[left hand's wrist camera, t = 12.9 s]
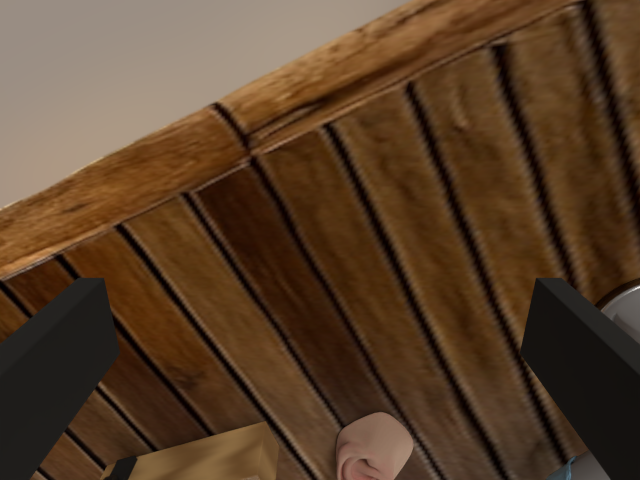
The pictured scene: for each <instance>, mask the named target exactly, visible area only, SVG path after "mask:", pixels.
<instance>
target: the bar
mask: <svg viewBox="0 0 640 480" xmlns="http://www.w3.org/2000/svg"><path fill="white" fill-rule="evenodd" d="M278 453H279V445H278V444H277V442H276V440H275V438H274V436H273V434H272V432H271V430H270V428H269V427H268V425H267V423H266V421H264V422H260V423H257V424H253V425H250V426H246V427H242V428H239V429H235V430H232V431H228V432H225V433H221V434H217V435H214V436H210V437H207V438H203V439H200V440H196V441H192V442H189V443H185V444H182V445H178V446H174V447H171V448H167V449H164V450H160V451H157V452H153V453H149V454H146V455H142V456H139V457H136V458H137V459H138V460H137V462H136V464H135V466H134V468H133V470H132V472H131V475H130V477H129V479H128V480H276V472H277V462H278ZM115 464H116V463H114V464H110V465H107V467H106V469H105V471H104V473H103V475H102V476H101V478H100V480H103V479H104V478H105V477H108V476H110V474H111V472H112V470H113V468H114V466H115Z"/></svg>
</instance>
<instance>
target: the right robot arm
mask: <svg viewBox="0 0 640 480" xmlns="http://www.w3.org/2000/svg"><path fill="white" fill-rule="evenodd" d="M137 460H138V459H137V458H136V456H131V457H128V458H124V459H121V460H117V462H116V464H115V466H114V468H113V470H112V472H111V474H110V476H108V477H105V478H104V479H103V480H128V479H129V477H130V475H131V472H132V470H133V468H134V466H135V464H136V462H137Z"/></svg>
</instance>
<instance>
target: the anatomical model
mask: <svg viewBox="0 0 640 480" xmlns="http://www.w3.org/2000/svg"><path fill="white" fill-rule="evenodd" d="M412 449H413V440H412V437H411V435H410V434H409V432H408V431H407V430H406V428H405V427H404V426H403V425H402V424H401V423H400V422H398V421H397V420H396V419H395V418H393V417H392V416H390V415H389V414H386V413H383V412H378V413H373V414H370V415H367V416H365V417H363V418H361V419H358V420H356V421H354V422H352V423H351V424H349V425H348V426H346V427H345V428H343V429H342V430H341V432H340V433H339V436H338V439H337V446H336V462H337V470H336V475H337V480H394V478H395V477H396V476H397V474H398V473H399V472H400V470H401V469H402V467H403V466H404V464H405V463H406V461H407V460H408V458H409V456H410V454H411V452H412Z"/></svg>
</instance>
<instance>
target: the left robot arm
mask: <svg viewBox="0 0 640 480" xmlns="http://www.w3.org/2000/svg"><path fill="white" fill-rule="evenodd" d="M119 354H120V351H119V346H118V341H117V337H116V332H115V327H114V323H113V318H112V314H111V309H110V304H109V300H108V295H107V290H106V286H105V281H104V278H78V279H77V280H76V281H74V282H73V283H72V284H71V285H70V286H69V287H67V288H66V289H65V290H64V291H63V292H61V293H60V294H59V295H58V296H57V297H56V298H54V299H53V300H52V301H51V302H50V303H48V304H47V305H46V306H45V307H44V308H42V309H41V310H40V311H39V312H38V313H37V314H35V315H34V316H33V317H32V318H31V319H29V320H28V321H27V322H26V323H25V324H24V325H22V326H21V327H20V328H19V329H18V330H16V331H15V332H14V333H13V334H12V335H11V336H9V337H8V338H7V339H6V340H5V341H3V342H2V343H1V344H0V480H30V478H31V477H32V475H33V474H34V473H35V471H36V470H37V468H38V467H39V466H40V464H41V463H42V461H43V460H44V459H45V457H46V456H47V454H48V453H49V452H50V450H51V449H52V447H53V446H54V445H55V443H56V442H57V440H58V439H59V438H60V436H61V435H62V433H63V432H64V431H65V429H66V428H67V427H68V425H69V424H70V422H71V421H72V420H73V418H74V417H75V415H76V414H77V413H78V411H79V410H80V408H81V407H82V406H83V404H84V403H85V401H86V400H87V399H88V397H89V396H90V394H91V393H92V392H93V390H94V389H95V387H96V386H97V385H98V383H99V382H100V380H101V379H102V378H103V376H104V375H105V373H106V372H107V371H108V369H109V368H110V366H111V365H112V364H113V362H114V361H115V360H116V358H117V357H118V355H119ZM520 354H521V355H522V357H523V358H524V360H525V361H526V362H527V364H528V365H529V366H530V368H531V369H532V371H533V372H534V373H535V375H536V376H537V378H538V379H539V380H540V382H541V383H542V385H543V386H544V387H545V389H546V390H547V392H548V393H549V394H550V396H551V397H552V399H553V400H554V401H555V403H556V404H557V406H558V407H559V408H560V410H561V411H562V413H563V414H564V415H565V417H566V418H567V420H568V421H569V422H570V424H571V425H572V427H573V428H574V429H575V431H576V432H577V433H578V435H579V436H580V438H581V439H582V440H583V442H584V443H585V445H586V446H587V447H588V449H589V451H587V452H585V453H583V454H581V455H580V456H574V457H572V458H571V459H570V460H569V461H568V463H567V464H566V465H564V466H563V467H561V468H560V469H558V470H557V471H555V472H554V473H552V474H551V475H549V476H548V477H547V479H546V480H640V278H639V279H635V280H633V281H630V282H628V283H626V284H624V285H622V286H620V287H618V288H617V289H615V290H614V291H612V292H611V293H609V294H608V295H607V296H606V297H604V298H603V299H602V300H601V301H600V302H599V303H598V304H597V305H596V306H594V305H593V304H592V303H590V302H589V301H588V300H587V299H586V298H584V297H583V296H582V295H581V294H580V293H579V292H577V291H576V290H575V289H574V288H573V287H571V286H570V285H569V284H568V283H567V282H566V281H564V280H563V279H562V278H536V281H535V286H534V290H533V295H532V300H531V304H530V309H529V314H528V318H527V323H526V327H525V332H524V337H523V341H522V346H521V351H520Z"/></svg>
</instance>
